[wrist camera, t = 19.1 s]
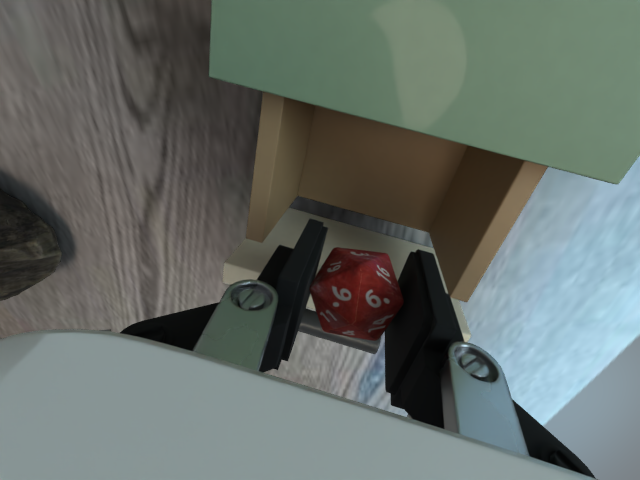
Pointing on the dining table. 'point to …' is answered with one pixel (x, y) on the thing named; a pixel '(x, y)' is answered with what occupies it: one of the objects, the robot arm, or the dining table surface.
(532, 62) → the cabinet
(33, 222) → the rock
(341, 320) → the die
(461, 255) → the drawer
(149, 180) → the dining table surface
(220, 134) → the dining table surface
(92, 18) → the dining table surface
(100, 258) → the dining table surface
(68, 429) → the robot arm
